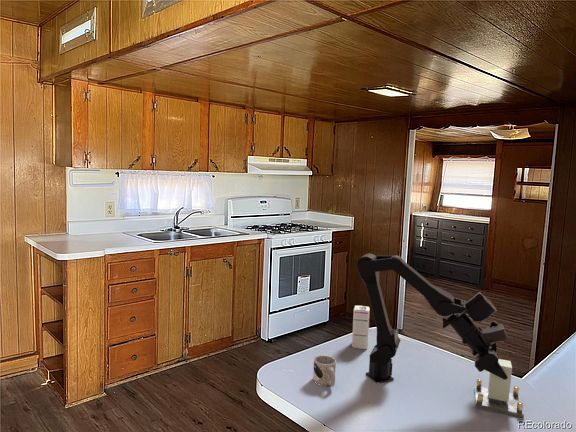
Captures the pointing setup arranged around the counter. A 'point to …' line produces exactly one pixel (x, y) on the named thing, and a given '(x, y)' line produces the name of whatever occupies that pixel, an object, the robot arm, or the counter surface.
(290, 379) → the counter surface
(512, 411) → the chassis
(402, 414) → the counter surface
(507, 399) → the sage block
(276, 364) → the counter surface
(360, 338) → the syrup box
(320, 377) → the mug
